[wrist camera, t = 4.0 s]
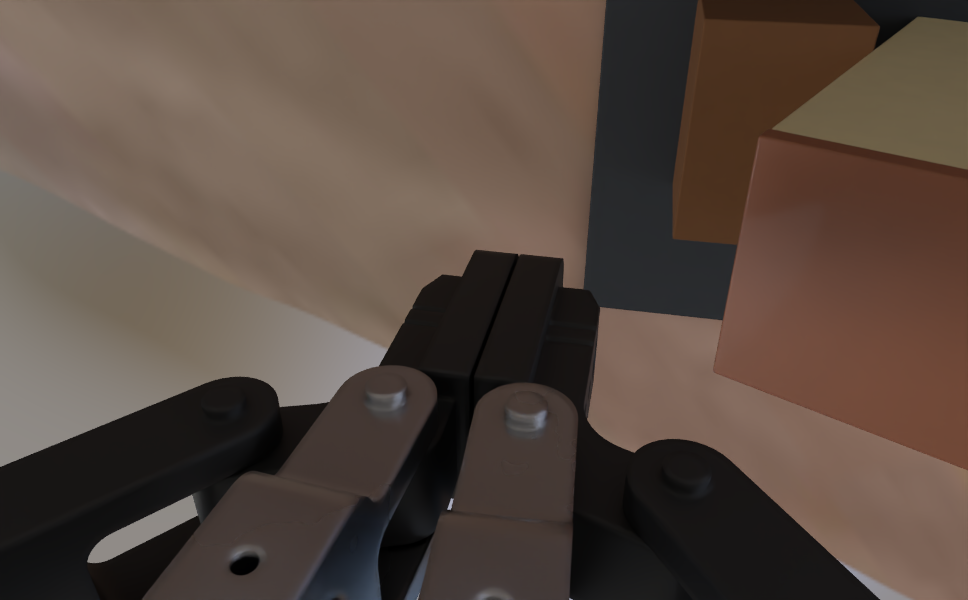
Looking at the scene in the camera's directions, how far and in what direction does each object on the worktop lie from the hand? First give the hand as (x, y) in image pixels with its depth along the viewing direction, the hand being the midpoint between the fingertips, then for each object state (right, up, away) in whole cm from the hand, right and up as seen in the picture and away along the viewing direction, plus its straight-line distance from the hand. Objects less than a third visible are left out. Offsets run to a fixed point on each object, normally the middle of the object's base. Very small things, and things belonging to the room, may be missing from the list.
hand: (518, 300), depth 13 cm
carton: (+11, +6, +9) cm, 16 cm away
